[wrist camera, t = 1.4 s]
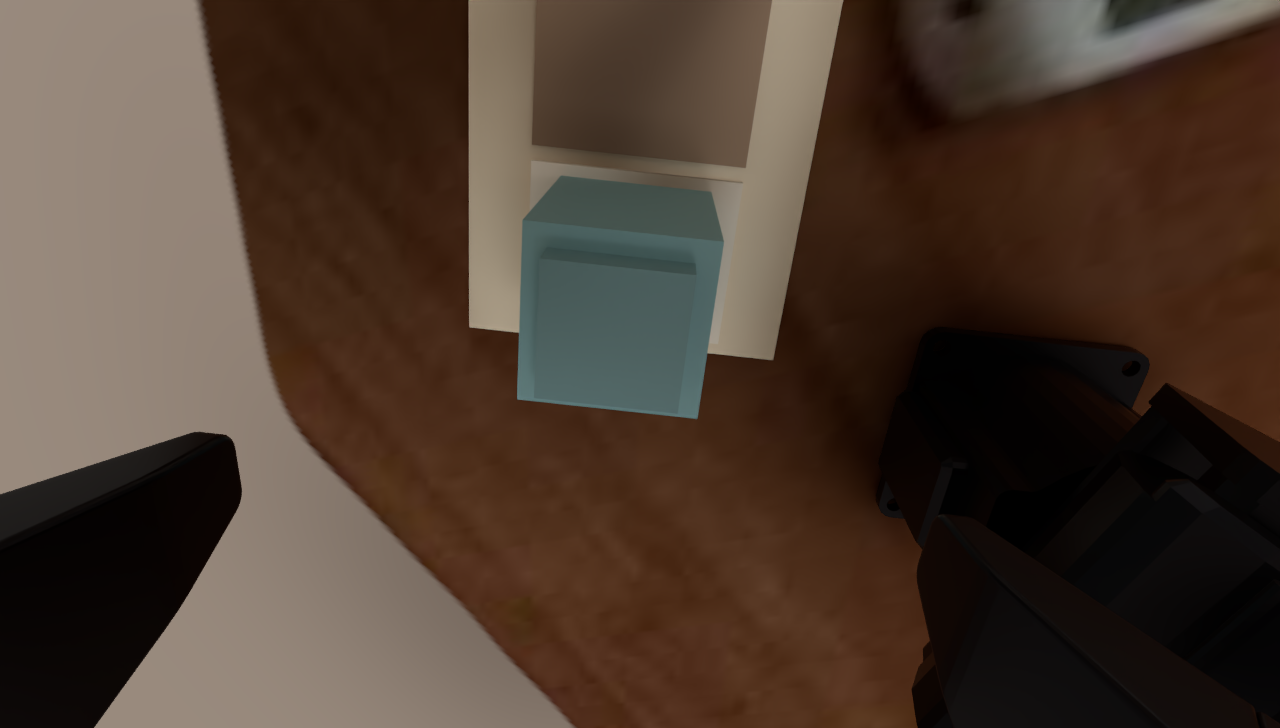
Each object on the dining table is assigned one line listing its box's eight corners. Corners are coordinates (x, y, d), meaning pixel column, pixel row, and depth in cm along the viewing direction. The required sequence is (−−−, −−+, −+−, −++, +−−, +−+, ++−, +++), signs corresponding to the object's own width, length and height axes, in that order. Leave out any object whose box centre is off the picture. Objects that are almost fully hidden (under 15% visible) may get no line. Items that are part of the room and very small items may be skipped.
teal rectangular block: (711, 191, 19) (727, 252, 13) (691, 331, 20) (698, 437, 15) (560, 175, 19) (514, 229, 13) (553, 316, 20) (509, 416, 15)
